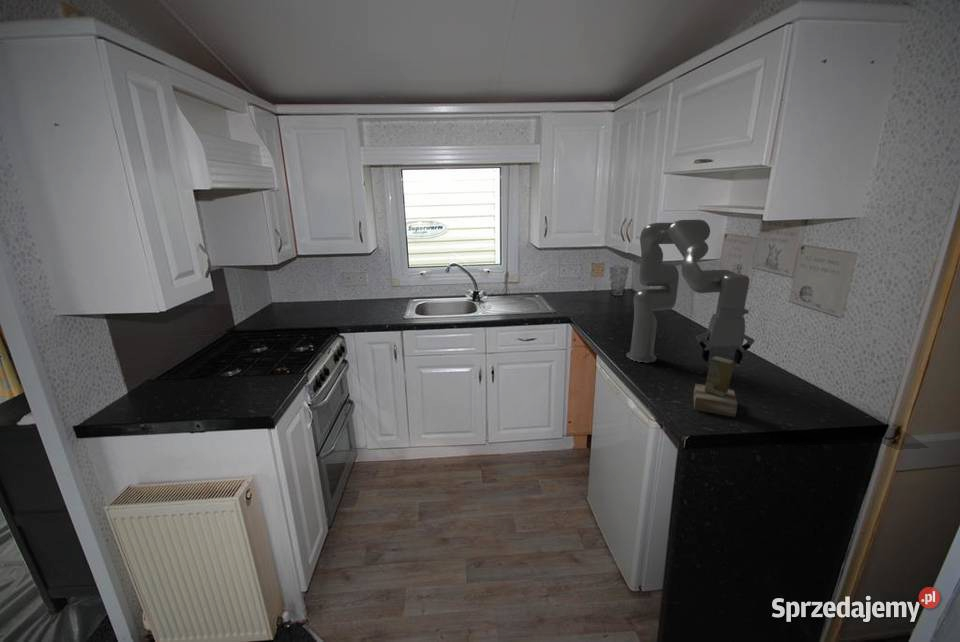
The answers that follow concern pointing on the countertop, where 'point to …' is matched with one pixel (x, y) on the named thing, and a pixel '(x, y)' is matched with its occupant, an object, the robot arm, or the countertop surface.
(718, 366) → the skincare box
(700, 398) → the birch block
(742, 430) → the countertop surface
